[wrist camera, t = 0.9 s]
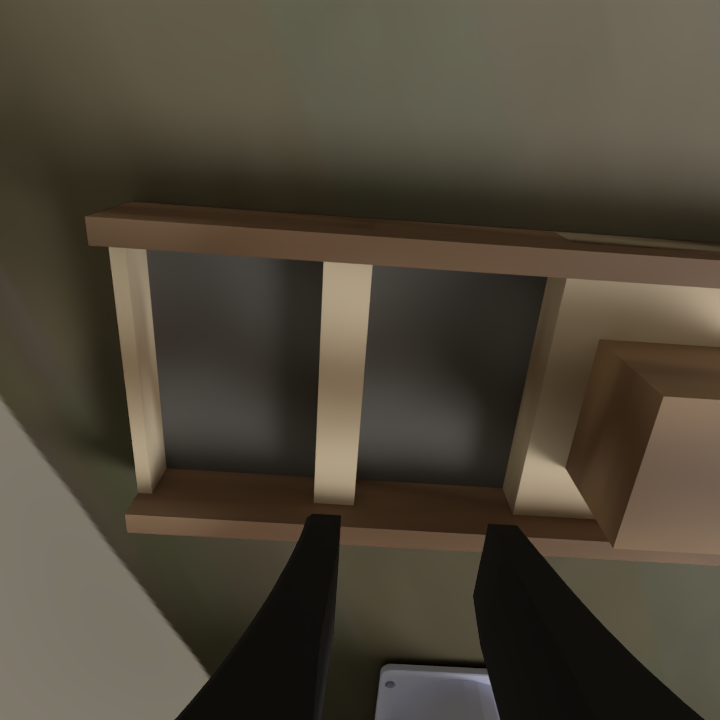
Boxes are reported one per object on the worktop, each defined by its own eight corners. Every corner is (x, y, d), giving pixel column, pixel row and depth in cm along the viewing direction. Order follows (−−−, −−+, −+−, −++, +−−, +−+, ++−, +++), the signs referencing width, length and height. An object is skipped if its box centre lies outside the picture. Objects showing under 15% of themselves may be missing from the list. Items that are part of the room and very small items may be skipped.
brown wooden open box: (871, 519, 23) (985, 607, 18) (158, 478, 22) (111, 559, 18) (1017, 263, 18) (1208, 303, 14) (131, 201, 17) (60, 224, 13)
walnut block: (701, 476, 19) (780, 558, 16) (565, 468, 19) (613, 548, 16) (751, 349, 17) (855, 408, 14) (599, 339, 17) (663, 396, 14)
